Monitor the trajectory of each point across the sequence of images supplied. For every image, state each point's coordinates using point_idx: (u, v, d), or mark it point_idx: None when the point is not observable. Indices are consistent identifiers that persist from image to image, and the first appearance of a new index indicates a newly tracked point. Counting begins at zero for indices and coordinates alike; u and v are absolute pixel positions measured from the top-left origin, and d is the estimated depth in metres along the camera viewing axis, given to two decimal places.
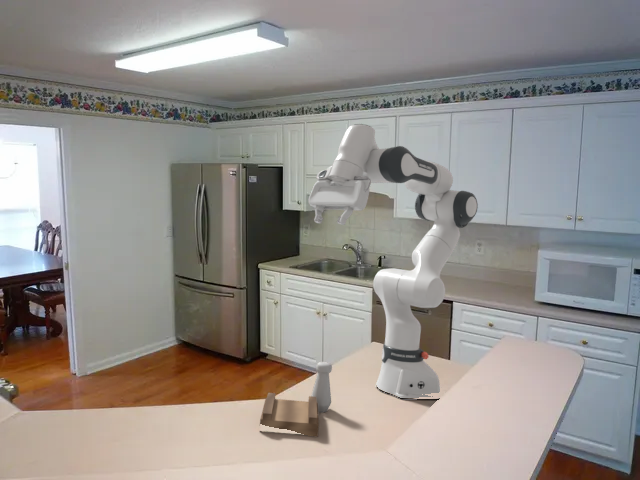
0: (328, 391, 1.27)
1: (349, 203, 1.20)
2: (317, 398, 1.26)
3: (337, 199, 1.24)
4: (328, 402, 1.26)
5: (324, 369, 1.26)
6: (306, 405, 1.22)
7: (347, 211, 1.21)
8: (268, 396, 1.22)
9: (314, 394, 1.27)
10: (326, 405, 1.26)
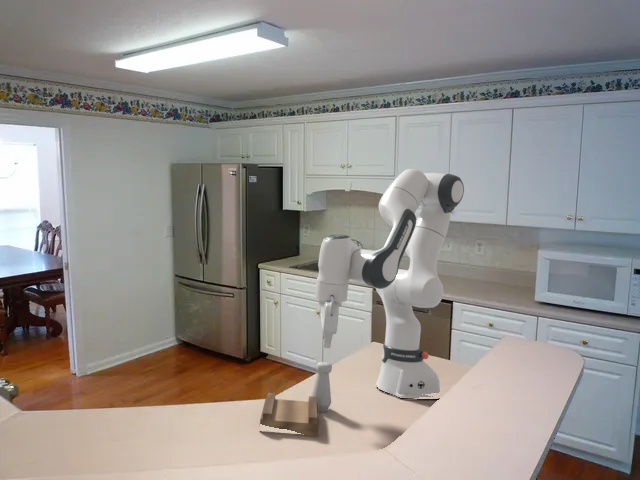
0: (328, 391, 1.27)
1: None
2: (317, 398, 1.26)
3: (322, 321, 1.25)
4: (328, 402, 1.26)
5: (324, 369, 1.26)
6: (306, 405, 1.22)
7: (325, 336, 1.21)
8: (268, 396, 1.22)
9: (314, 394, 1.27)
10: (326, 405, 1.26)
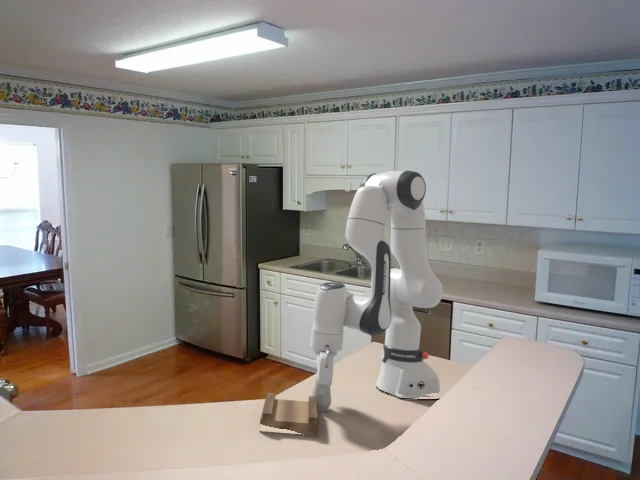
0: (328, 391, 1.27)
1: None
2: (317, 398, 1.26)
3: (317, 370, 1.26)
4: (328, 402, 1.26)
5: None
6: (306, 405, 1.22)
7: None
8: (268, 396, 1.22)
9: (314, 394, 1.27)
10: (326, 405, 1.26)
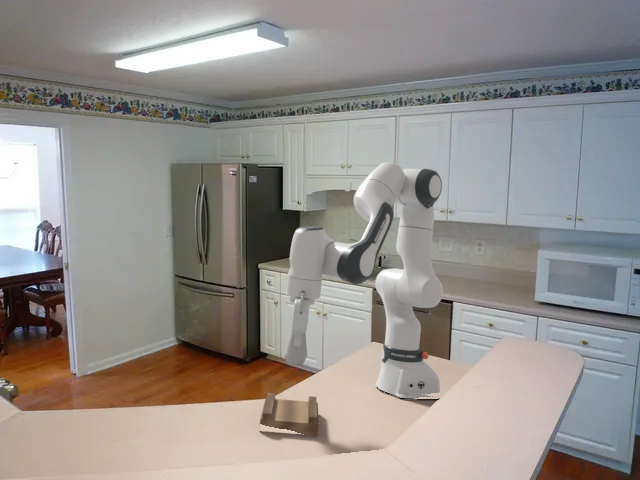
0: (303, 343, 1.16)
1: None
2: (291, 350, 1.15)
3: None
4: (303, 355, 1.16)
5: None
6: (306, 405, 1.22)
7: (295, 333, 1.14)
8: (268, 396, 1.22)
9: (288, 346, 1.16)
10: (301, 358, 1.15)
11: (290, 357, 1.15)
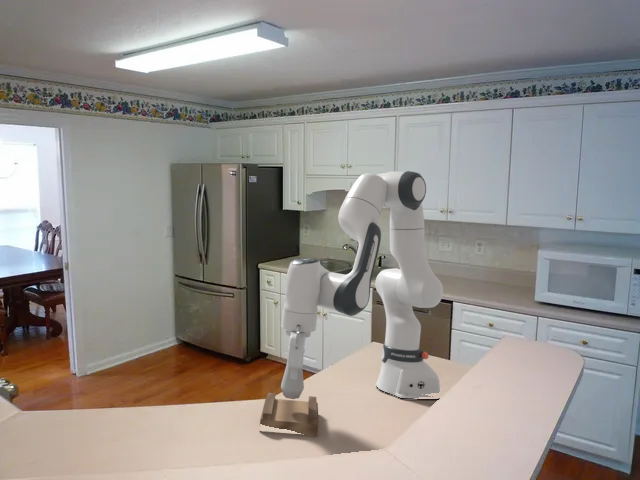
0: (300, 376, 1.16)
1: None
2: (288, 383, 1.15)
3: None
4: (300, 388, 1.16)
5: None
6: (306, 405, 1.22)
7: None
8: (268, 396, 1.22)
9: (285, 379, 1.16)
10: (298, 391, 1.15)
11: (286, 390, 1.15)
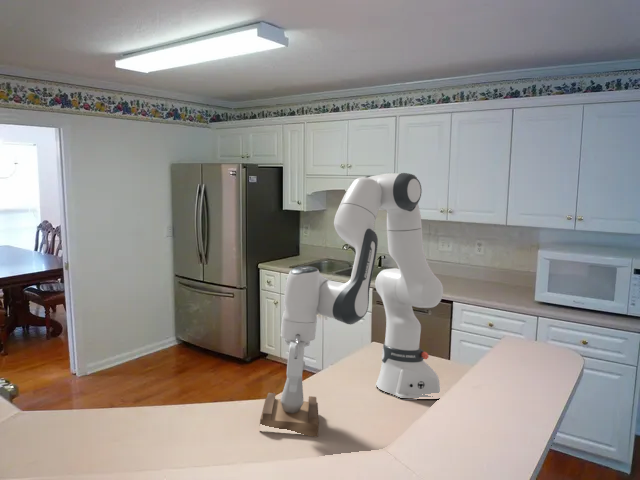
0: (300, 390, 1.17)
1: None
2: (288, 398, 1.16)
3: None
4: (300, 402, 1.16)
5: None
6: (306, 405, 1.22)
7: (291, 379, 1.11)
8: (268, 396, 1.22)
9: (285, 393, 1.16)
10: (297, 405, 1.16)
11: (286, 405, 1.15)
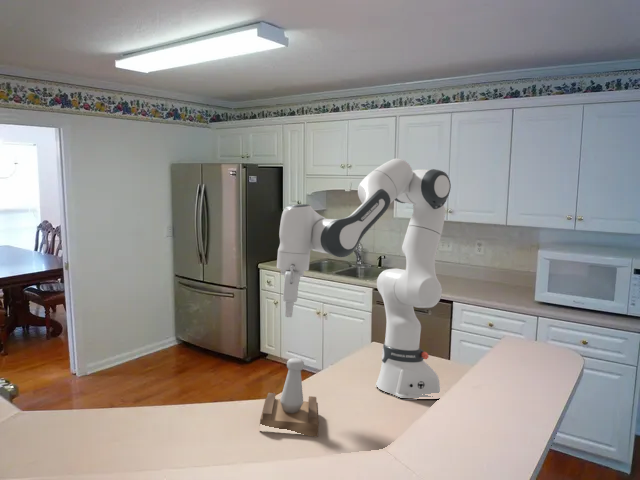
0: (299, 390, 1.17)
1: None
2: (287, 398, 1.16)
3: None
4: (299, 402, 1.16)
5: (295, 366, 1.16)
6: (306, 405, 1.22)
7: (287, 304, 1.21)
8: (268, 396, 1.22)
9: (284, 393, 1.16)
10: (297, 405, 1.16)
11: (286, 405, 1.15)
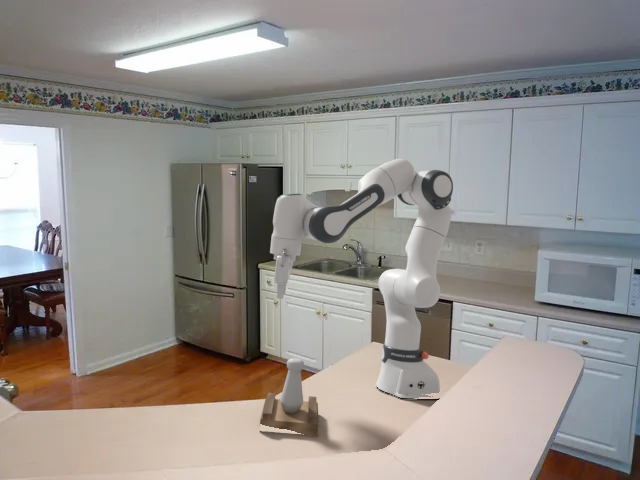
0: (299, 390, 1.17)
1: None
2: (287, 398, 1.16)
3: None
4: (299, 402, 1.16)
5: (295, 366, 1.16)
6: (306, 405, 1.22)
7: (278, 286, 1.29)
8: (268, 396, 1.22)
9: (284, 393, 1.16)
10: (297, 405, 1.16)
11: (286, 405, 1.15)
